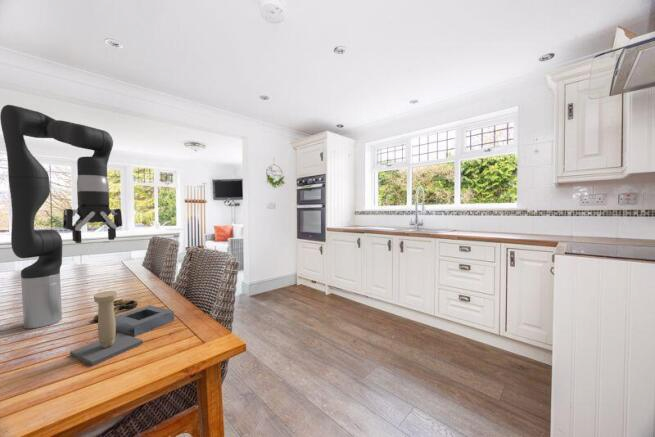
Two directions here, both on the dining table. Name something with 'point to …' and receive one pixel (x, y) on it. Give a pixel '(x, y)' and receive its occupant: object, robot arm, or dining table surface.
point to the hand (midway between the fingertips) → (95, 241)
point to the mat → (105, 349)
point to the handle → (106, 317)
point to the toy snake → (121, 306)
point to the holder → (143, 320)
